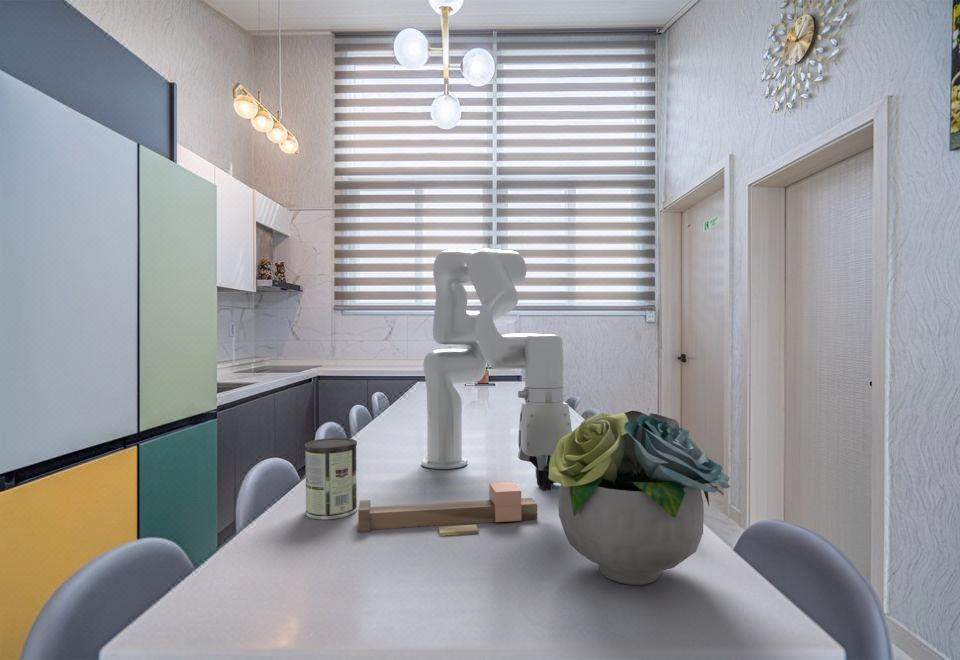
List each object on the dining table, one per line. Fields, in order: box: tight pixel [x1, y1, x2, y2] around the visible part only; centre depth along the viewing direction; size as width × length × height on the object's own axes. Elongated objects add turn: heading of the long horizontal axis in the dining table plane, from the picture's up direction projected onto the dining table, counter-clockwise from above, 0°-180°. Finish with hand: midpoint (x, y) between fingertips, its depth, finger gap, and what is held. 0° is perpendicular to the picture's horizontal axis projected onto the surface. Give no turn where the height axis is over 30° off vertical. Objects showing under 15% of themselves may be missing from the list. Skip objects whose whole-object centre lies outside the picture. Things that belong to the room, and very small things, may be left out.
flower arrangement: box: [548, 410, 731, 586], centre depth 84 cm, size 25×25×24 cm
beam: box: [357, 497, 538, 537], centre depth 108 cm, size 15×34×4 cm, turn 100°
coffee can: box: [304, 437, 358, 521], centre depth 114 cm, size 10×10×14 cm
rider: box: [488, 481, 522, 523], centre depth 110 cm, size 7×5×6 cm
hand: (545, 488), depth 111 cm, fingers closed
